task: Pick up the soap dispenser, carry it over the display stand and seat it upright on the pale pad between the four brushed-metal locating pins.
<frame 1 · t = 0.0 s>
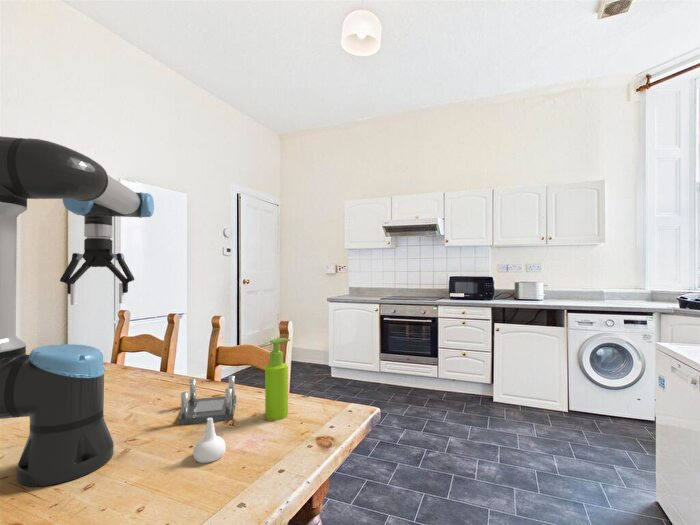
hand: (98, 303, 117), 28 cm above the table, fingers open, 13 cm apart
soap dispenser: (278, 415, 96), on the table
display stand: (209, 411, 98), on the table
garlic bulb: (209, 457, 75), on the table
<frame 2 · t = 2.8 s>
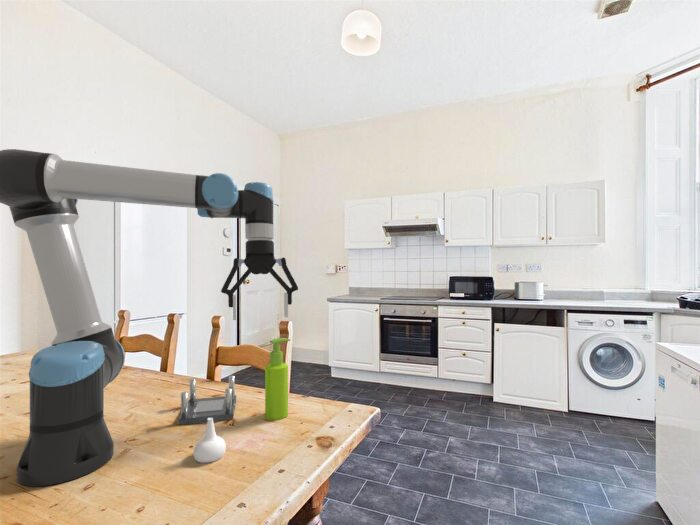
hand: (261, 318, 98), 25 cm above the table, fingers open, 13 cm apart
nothing on the table moved.
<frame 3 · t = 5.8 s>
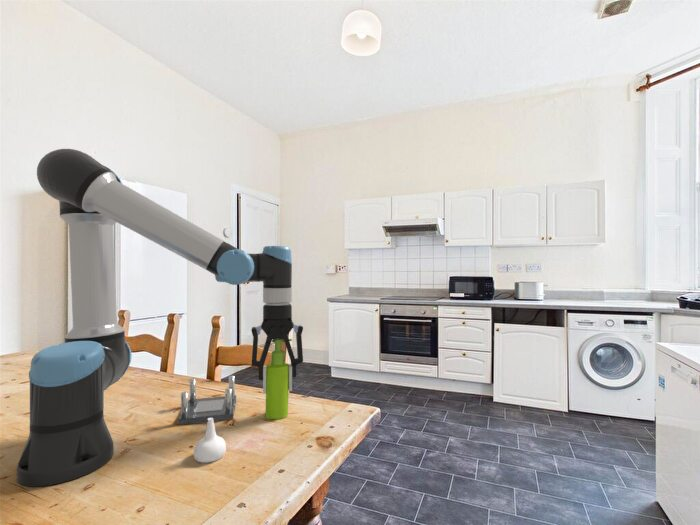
hand: (277, 390, 96), 6 cm above the table, fingers closed on soap dispenser, 6 cm apart
soap dispenser: (278, 415, 96), on the table, touching gripper
everything else where it was.
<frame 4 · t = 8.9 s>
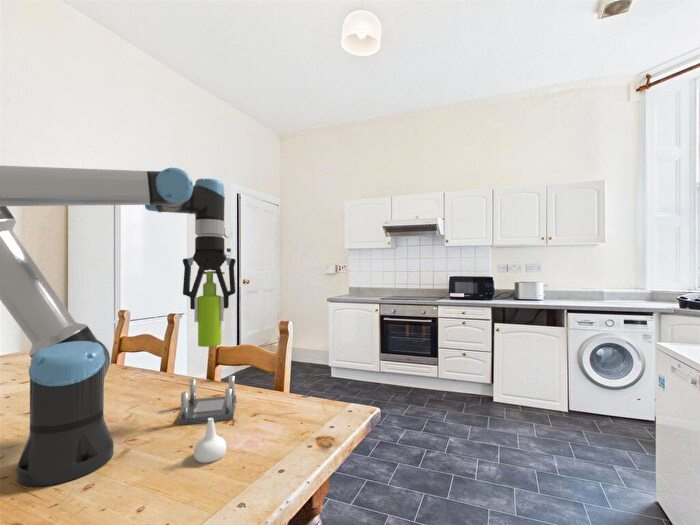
hand: (209, 320, 99), 25 cm above the table, fingers closed on soap dispenser, 6 cm apart
soap dispenser: (211, 344, 99), point 18 cm above the table, touching gripper
everything else where it was.
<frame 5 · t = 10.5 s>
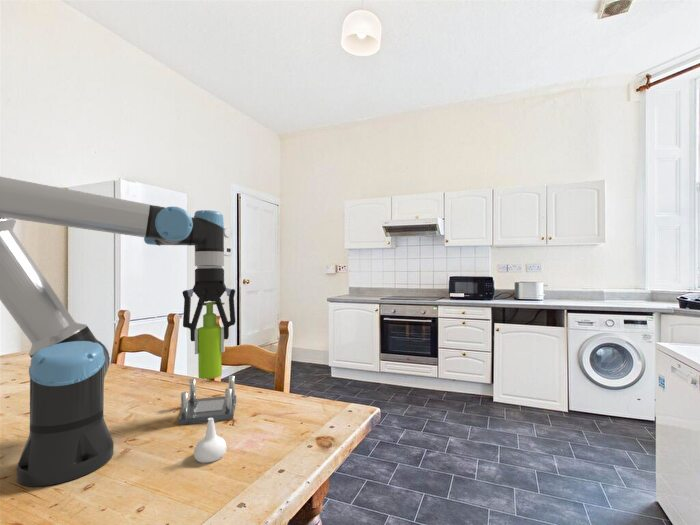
hand: (210, 351, 99), 16 cm above the table, fingers closed on soap dispenser, 6 cm apart
soap dispenser: (212, 376, 99), point 10 cm above the table, touching gripper
everything else where it was.
when the fingers open (9 cm above the table, at t = 12.1 s): soap dispenser drops 1 cm, resting on display stand.
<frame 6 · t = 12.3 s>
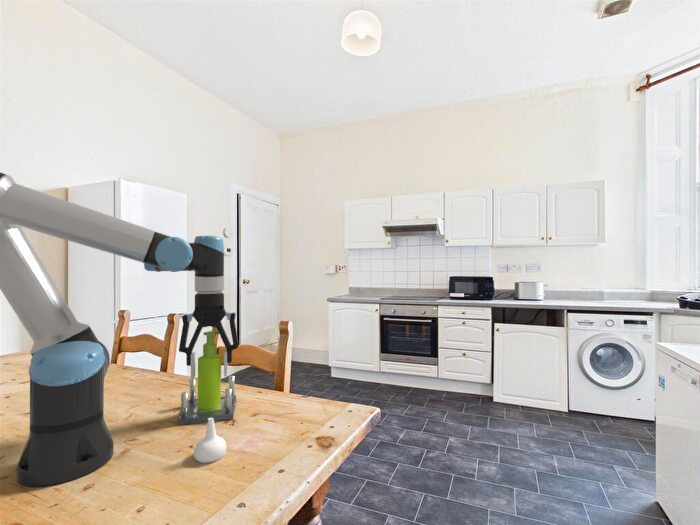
hand: (209, 375, 98), 10 cm above the table, fingers open, 8 cm apart
soap dispenser: (210, 405, 98), point 2 cm above the table, touching display stand
everything else where it was.
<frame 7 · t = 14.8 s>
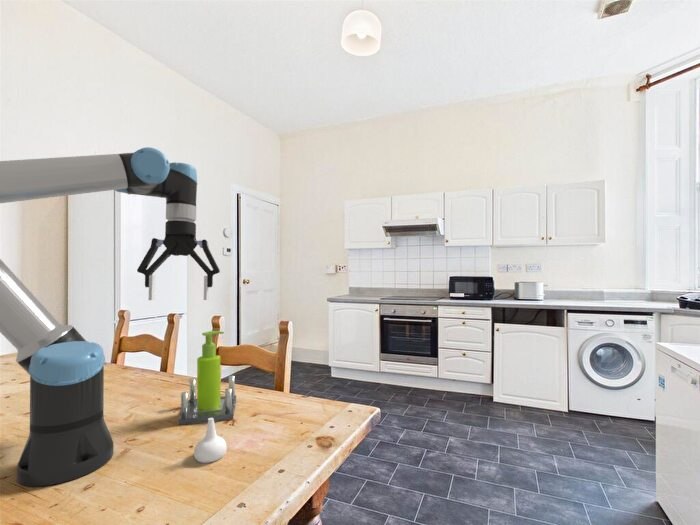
hand: (179, 299, 97), 31 cm above the table, fingers open, 13 cm apart
nothing on the table moved.
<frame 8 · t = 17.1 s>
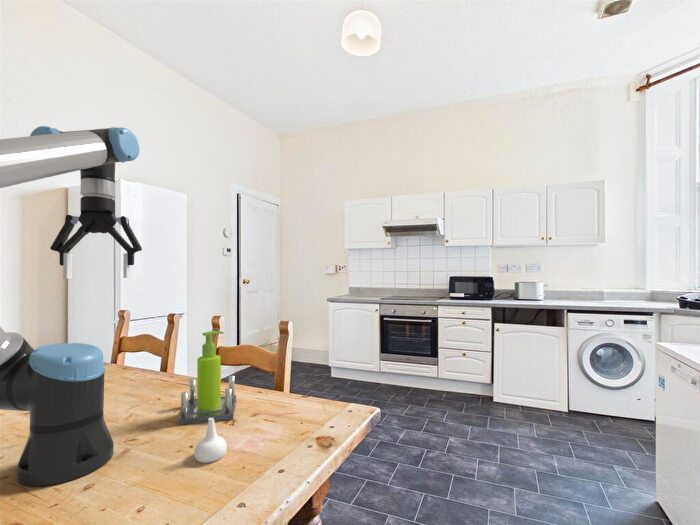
hand: (97, 278, 95), 37 cm above the table, fingers open, 13 cm apart
nothing on the table moved.
at the end: soap dispenser 0.3 cm off-centre on the display stand, point 1.5 cm above the display stand's base; soap dispenser tilted 0°; the gripper is holding nothing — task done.
